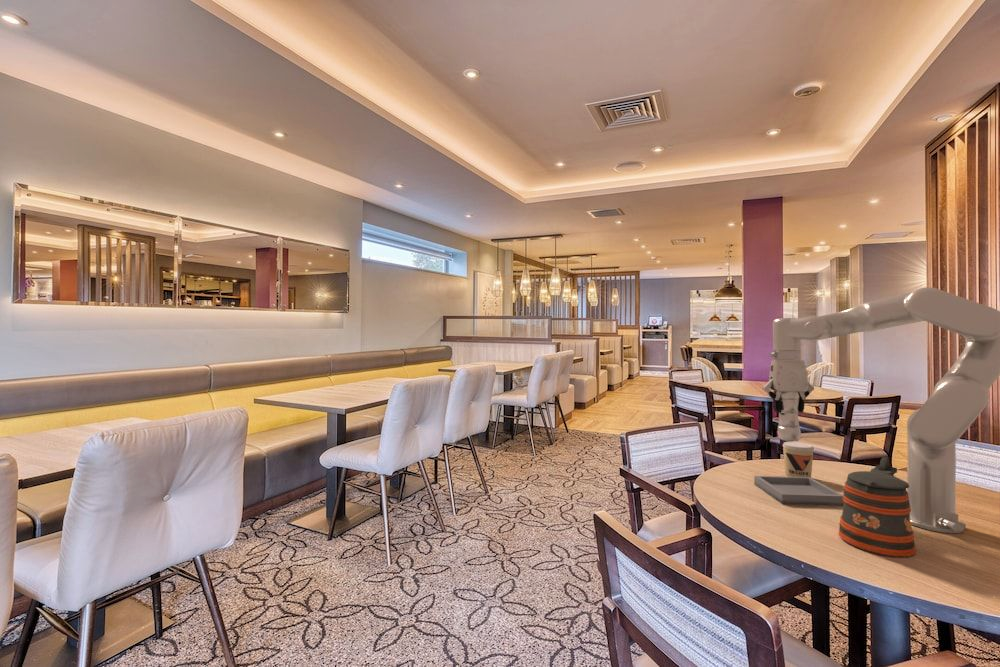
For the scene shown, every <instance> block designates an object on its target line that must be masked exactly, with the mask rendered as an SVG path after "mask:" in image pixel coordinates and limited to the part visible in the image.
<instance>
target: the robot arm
mask: <svg viewBox="0 0 1000 667" xmlns="http://www.w3.org/2000/svg"><path fill="white" fill-rule="evenodd" d="M919 322H927V323H929V324H932V325H933V326H937V327H939V328H942V329H945V330H947V331H949V332H952V333H954V334H958V335H960V336H962V337H963V338H964V339H965V346H964V349H963V351H962V352H961V353H960V355H959V356H958V358H957V359H956V360H955V362H954V364H952V366H950V368H949V370H947V371H946V373H945V374H944V376H943V377H942V378H940V379H939V380H938V381H937V382H936V383H935V385H934V387H933V392H932V393H931V394H930V395H929V397H928V398H927V399H926V401H925V402H924V403H923V404H922V406H921V407H920V408H918V409H915V410H914V411H912V412H911V413H910V415H909V416H908V418H907V422H906V431H907V432H906V434H907V435H906V436H907V437H906V438H907V439H906V440H907V464H906V465H907V470H906V471H907V474H906V475H907V480H906V482H907V483H908V485H909V488H906V491H907V492H908V496H909V503H910V509H911V512H910V519H911V526H914V527H918V528H920V529H924V530H929V531H932V532H938V533H945V534H959V533H963V532H964V531H965V528H967V525H966V523H963V522H962V521H959V514H957V513H956V479H957V478H956V471H957V468H956V466H957V465H956V464H957V461H956V460H957V459H956V458H957V456H956V450H957V449H956V442H957V441H958V440H959V439H960V438H961V437H962V436H963V435H964V433H965V432H967V430H968V429H969V428H970V426H972V424H973V423H974V422H975V420H977V418H978V417H979V416H980V415H981V413H983V411H984V409H985V407H986V406H987V405H988V401H989V389H991V387H992V386H993V385H994V383H996V381H997V379H999V377H1000V310H999V309H996V308H994V307H991V306H988V305H985V304H982V303H979V302H976V301H973V300H970V299H968V298H964V297H962V296H959V295H956V294H953V293H951V292H947V291H945V290H942V289H939V288H936V287H929V286H927V287H921V288H917V289H915V290H913V291H910V292H906V293H901V294H898V295H893V296H889V297H885V298H880V299H875V300H871V301H867V302H864V303H861V304H858V305H855V306H854V307H852V308H849V309H848V308H847V309H845V310H841V311H837V312H833V313H829V314H824V315H820V316H817V315H810V316H804V317H797V318H796V317H780V318H776V319H774V320H773V321H772V345H773V346H772V347H773V348H772V352H769V354H768V355H769V357H770V358H772V360H771V363H770V367H769V368H770V369H769V375H768V377H769V378H768V381H767V383H766V384H764V385H763V387H761V388H762V390H763V392H765V393H766V394H767V396H768V397H770V399H772V408H773V411H774V412H775V413H778V414H779V413H781V412H782V410H781V400H779V398H780V396H781V393H782V392H798V393H799V396H800V397H799V406H798V413H804V410H805V400H806V399H807V397H809V396H810V394H811V393H812V392H813V391H814V390H815V387H814V386H813V385H812V384H811V383H809V378H808V377H809V375H808V371H807V367H806V363H805V360H802V353H801V352H802V348H801V347H802V346H801V340H806V341H821V340H825V339H831V338H835V337H836V338H837V337H840V336H841V337H842V336H845V335H847V336H848V335H852V334H857V333H858V334H859V333H865V332H866V333H867V332H874V331H879V330H880V331H881V330H883V329H889V328H894V327H899V326H904V325H905V326H906V325H909V324H914V323H919Z"/></svg>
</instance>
